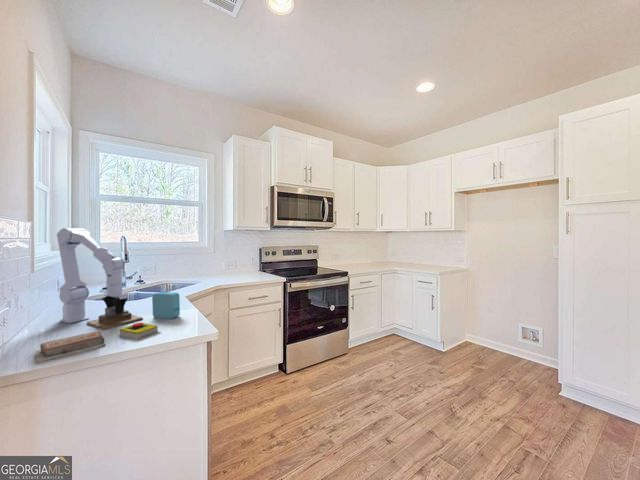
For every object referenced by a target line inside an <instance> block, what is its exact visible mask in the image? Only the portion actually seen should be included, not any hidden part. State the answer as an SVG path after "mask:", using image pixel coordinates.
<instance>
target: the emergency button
mask: <svg viewBox="0 0 640 480" xmlns="http://www.w3.org/2000/svg"><path fill="white" fill-rule="evenodd" d="M160 334H162V331H159V329H158V325H156V324H151V323H146V322H134V323H133V324H130V325H127V326H124V327H121V328H119V333H117V337H118V336H119V337H123V338H127V339H131V340H136V341H142V340H146V339H149V338H151V337H153V336H157V335H160Z"/></svg>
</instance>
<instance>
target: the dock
mask: <svg viewBox="0 0 640 480" xmlns="http://www.w3.org/2000/svg"><path fill="white" fill-rule="evenodd" d="M139 320H140V321H143V320H144V317H142V316H138V315H134V314H132V312H130V311H129V312H128V313H124V314H123V315H119V316H114V317H110V318H108V317H106V318H103V317H100V315H99V316H98V318H97V319H94V320H89V321H86V325H88V326H92V327H94V328H97V329H100V330H103V331H106V330H109V329H113V328H116V327H119V326H120V327H121V326H124V325H128V324H132V323H136V322H140V321H139ZM135 321H136V322H135Z"/></svg>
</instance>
